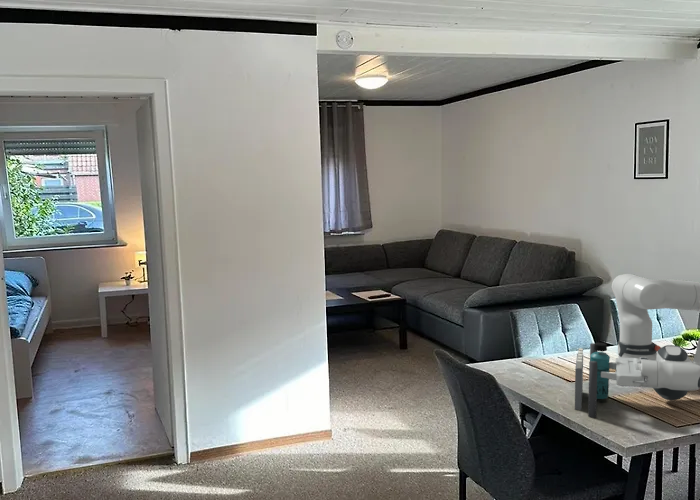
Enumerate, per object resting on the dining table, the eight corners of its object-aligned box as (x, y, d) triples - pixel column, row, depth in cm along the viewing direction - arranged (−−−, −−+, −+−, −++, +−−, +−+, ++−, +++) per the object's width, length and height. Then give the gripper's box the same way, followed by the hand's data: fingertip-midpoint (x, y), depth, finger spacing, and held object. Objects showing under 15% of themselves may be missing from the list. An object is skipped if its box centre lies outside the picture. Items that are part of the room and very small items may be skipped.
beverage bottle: (584, 397, 218) (586, 341, 216) (603, 396, 219) (605, 340, 216) (593, 403, 212) (595, 346, 209) (612, 403, 212) (614, 345, 210)
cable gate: (596, 392, 222) (597, 343, 220) (596, 418, 200) (597, 363, 197) (589, 392, 223) (590, 343, 221) (588, 417, 200) (589, 362, 198)
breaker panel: (582, 392, 223) (583, 347, 221) (581, 410, 207) (582, 362, 205) (576, 391, 224) (577, 347, 222) (574, 409, 207) (575, 361, 205)
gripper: (648, 393, 194) (600, 389, 200) (644, 373, 213) (600, 370, 218) (649, 373, 194) (600, 369, 199) (644, 355, 212) (601, 352, 218)
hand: (600, 369), depth 209 cm, fingers open, 8 cm apart
